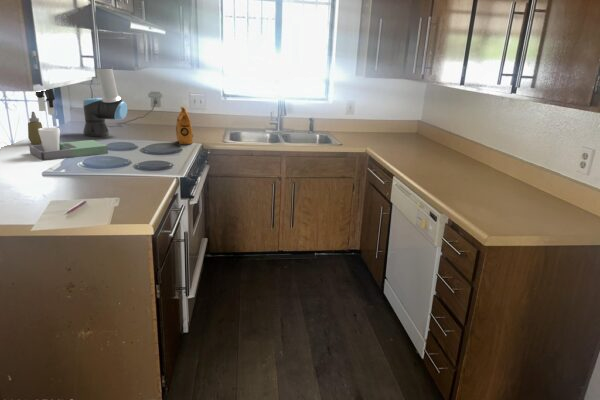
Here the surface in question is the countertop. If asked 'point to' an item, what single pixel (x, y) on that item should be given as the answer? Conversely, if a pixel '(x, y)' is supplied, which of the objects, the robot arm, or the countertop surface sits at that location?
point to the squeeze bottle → (34, 130)
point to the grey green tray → (70, 150)
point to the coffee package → (184, 128)
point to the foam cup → (50, 138)
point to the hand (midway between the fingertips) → (47, 112)
